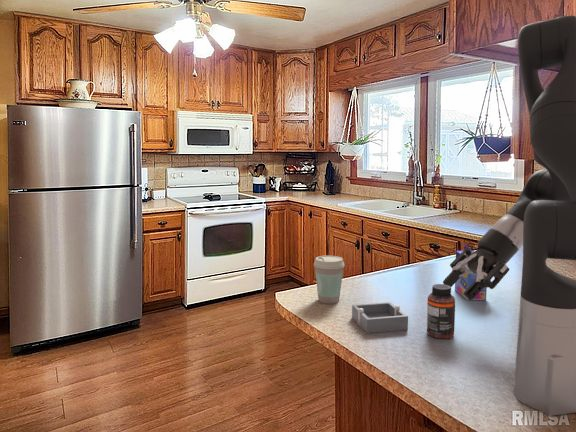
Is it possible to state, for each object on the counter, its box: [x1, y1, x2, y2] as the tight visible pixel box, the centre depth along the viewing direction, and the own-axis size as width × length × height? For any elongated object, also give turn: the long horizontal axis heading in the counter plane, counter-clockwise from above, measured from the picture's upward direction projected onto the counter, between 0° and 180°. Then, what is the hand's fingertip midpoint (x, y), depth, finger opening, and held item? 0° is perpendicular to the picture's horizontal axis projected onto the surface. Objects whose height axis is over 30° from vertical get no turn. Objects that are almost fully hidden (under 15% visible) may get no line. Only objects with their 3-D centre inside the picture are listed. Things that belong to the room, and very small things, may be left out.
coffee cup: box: [313, 255, 346, 305], centre depth 124 cm, size 9×9×12 cm
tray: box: [351, 301, 409, 334], centre depth 107 cm, size 10×10×4 cm
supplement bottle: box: [426, 283, 456, 340], centre depth 100 cm, size 6×6×11 cm
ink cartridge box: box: [454, 244, 488, 301], centre depth 128 cm, size 10×6×14 cm, turn 2°
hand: (455, 291), depth 100 cm, fingers open, 8 cm apart
